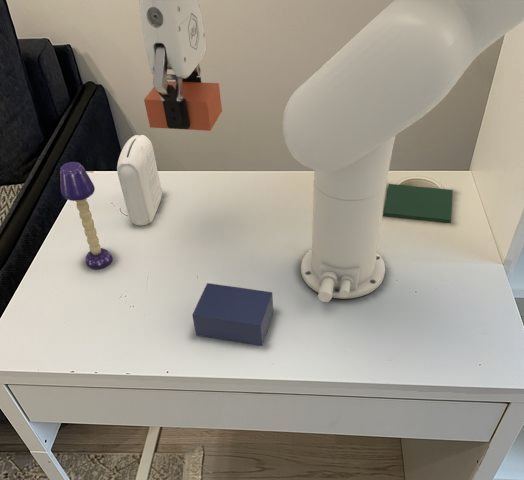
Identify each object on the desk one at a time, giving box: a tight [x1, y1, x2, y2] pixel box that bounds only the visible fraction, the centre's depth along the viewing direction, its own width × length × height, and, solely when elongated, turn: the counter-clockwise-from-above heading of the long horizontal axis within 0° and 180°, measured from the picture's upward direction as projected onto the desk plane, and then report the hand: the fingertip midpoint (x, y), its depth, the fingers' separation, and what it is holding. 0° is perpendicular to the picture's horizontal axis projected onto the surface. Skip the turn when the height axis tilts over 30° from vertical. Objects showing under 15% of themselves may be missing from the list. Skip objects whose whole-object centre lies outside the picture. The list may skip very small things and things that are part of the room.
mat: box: [382, 183, 454, 224], centre depth 94 cm, size 9×11×1 cm
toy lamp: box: [59, 161, 114, 270], centre depth 81 cm, size 5×5×17 cm
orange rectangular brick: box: [143, 80, 223, 132], centre depth 77 cm, size 6×9×4 cm, turn 77°
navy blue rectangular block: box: [191, 282, 274, 346], centre depth 75 cm, size 6×10×4 cm
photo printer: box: [116, 134, 163, 226], centre depth 92 cm, size 10×4×12 cm, turn 175°
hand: (186, 115), depth 78 cm, fingers closed on orange rectangular brick, 6 cm apart
